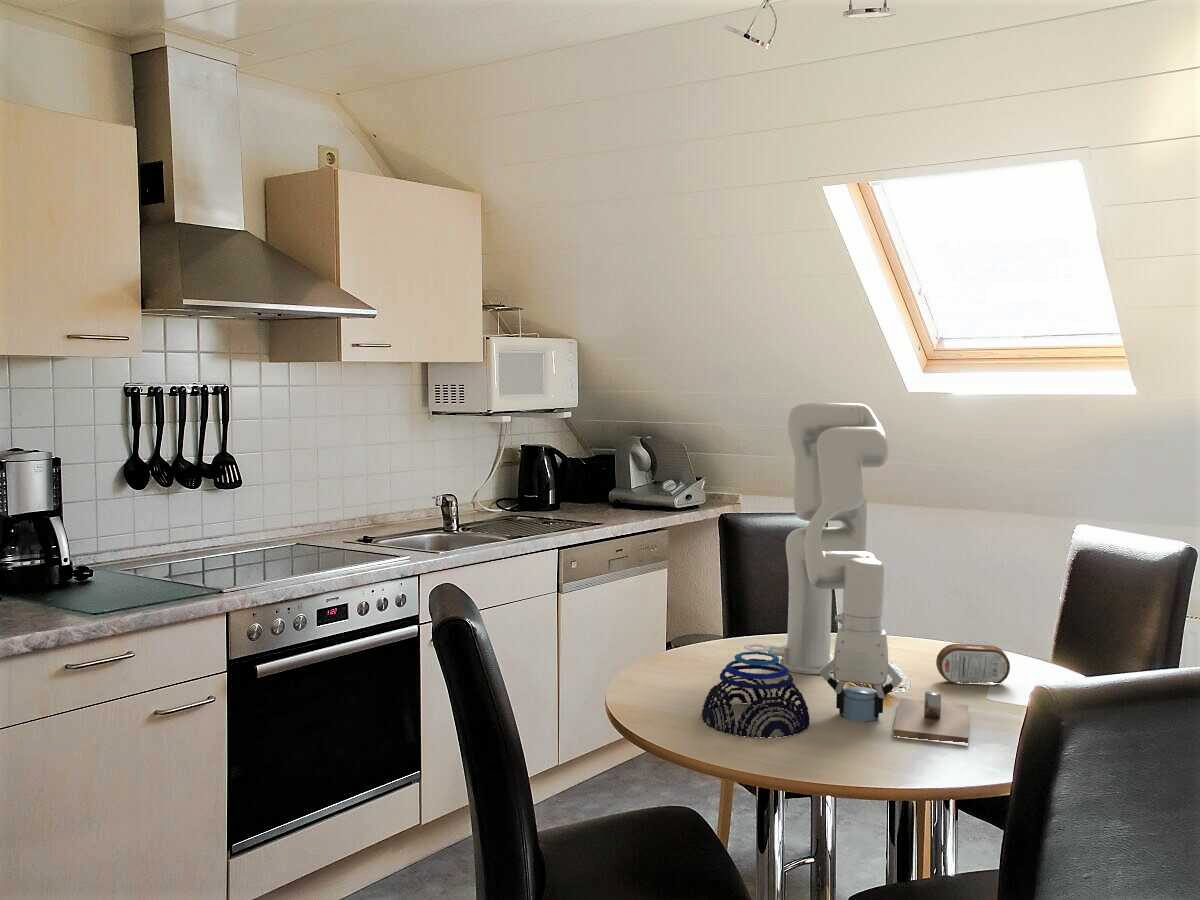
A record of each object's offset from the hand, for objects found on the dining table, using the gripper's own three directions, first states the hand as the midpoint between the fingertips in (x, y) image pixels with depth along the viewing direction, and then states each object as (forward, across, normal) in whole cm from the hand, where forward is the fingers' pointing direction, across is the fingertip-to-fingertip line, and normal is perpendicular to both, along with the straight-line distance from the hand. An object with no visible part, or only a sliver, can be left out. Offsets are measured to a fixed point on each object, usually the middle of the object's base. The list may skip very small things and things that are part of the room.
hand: (859, 713), depth 212 cm
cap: (+1, 0, 0) cm, 1 cm away
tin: (+1, +21, +31) cm, 37 cm away
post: (-1, +14, 0) cm, 14 cm away
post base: (+1, +14, 0) cm, 14 cm away
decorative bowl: (+1, -19, -9) cm, 21 cm away
